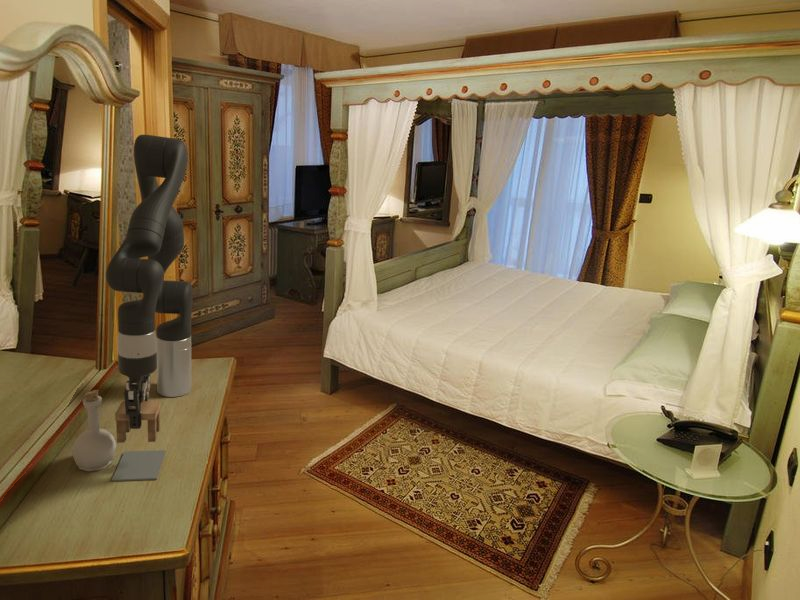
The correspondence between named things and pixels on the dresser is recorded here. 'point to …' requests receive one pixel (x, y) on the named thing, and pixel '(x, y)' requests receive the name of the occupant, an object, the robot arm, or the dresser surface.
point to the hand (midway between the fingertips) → (139, 420)
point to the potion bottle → (93, 439)
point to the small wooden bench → (148, 413)
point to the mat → (139, 465)
